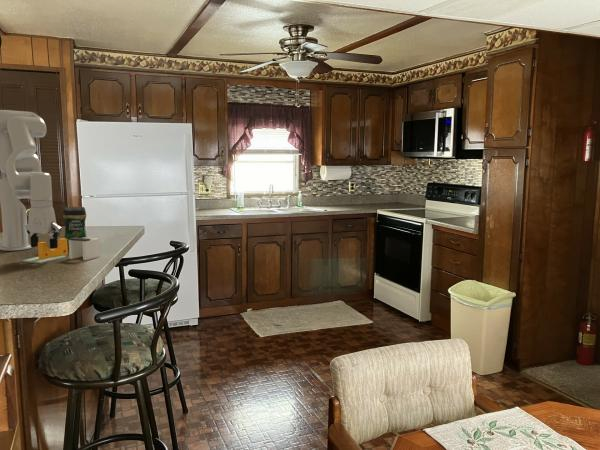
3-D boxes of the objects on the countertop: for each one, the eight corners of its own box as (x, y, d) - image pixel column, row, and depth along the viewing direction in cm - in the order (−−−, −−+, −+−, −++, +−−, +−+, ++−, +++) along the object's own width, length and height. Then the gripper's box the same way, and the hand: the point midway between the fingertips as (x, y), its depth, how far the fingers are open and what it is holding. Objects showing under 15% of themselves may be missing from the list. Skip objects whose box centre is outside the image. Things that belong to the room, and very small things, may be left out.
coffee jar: (63, 249, 220) (61, 207, 218) (65, 246, 228) (63, 206, 225) (87, 248, 224) (85, 207, 221) (88, 245, 231) (86, 205, 229)
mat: (22, 261, 194) (22, 260, 194) (49, 255, 206) (49, 254, 206) (40, 263, 191) (40, 261, 191) (66, 257, 203) (66, 255, 203)
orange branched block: (60, 253, 208) (59, 238, 207) (67, 254, 207) (67, 238, 206) (35, 258, 197) (34, 242, 196) (43, 259, 196) (42, 242, 195)
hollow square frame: (69, 258, 200) (68, 238, 199) (84, 255, 207) (83, 235, 206) (85, 260, 197) (84, 239, 196) (100, 256, 205) (99, 236, 204)
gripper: (16, 204, 195) (19, 247, 197) (51, 206, 189) (53, 250, 191) (32, 202, 202) (35, 244, 204) (66, 204, 196) (68, 247, 198)
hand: (44, 247), depth 198 cm, fingers open, 9 cm apart
